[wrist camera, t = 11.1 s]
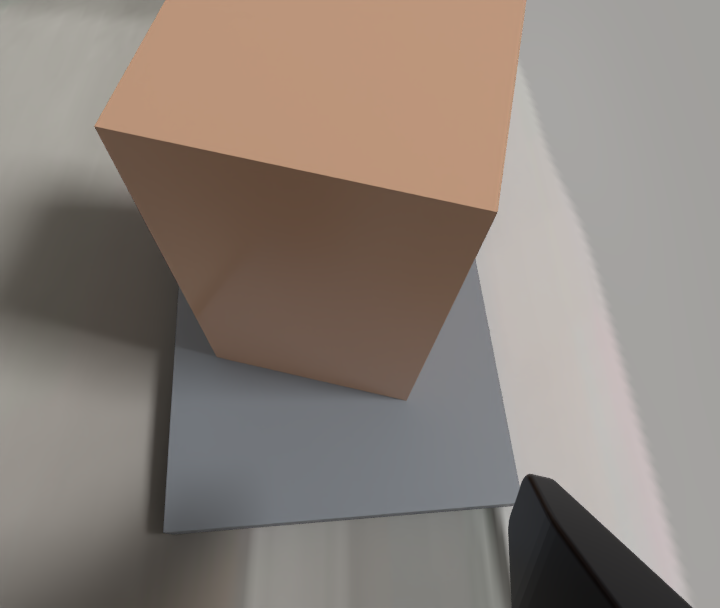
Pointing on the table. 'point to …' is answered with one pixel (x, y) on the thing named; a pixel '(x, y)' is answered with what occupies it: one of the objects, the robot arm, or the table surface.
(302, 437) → the post board
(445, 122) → the cover box
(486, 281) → the table surface
